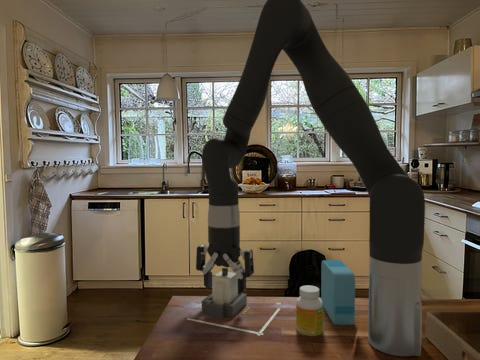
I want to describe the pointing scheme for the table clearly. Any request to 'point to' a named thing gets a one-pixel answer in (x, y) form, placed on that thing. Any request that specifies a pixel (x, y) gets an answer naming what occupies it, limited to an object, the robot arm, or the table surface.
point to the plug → (224, 287)
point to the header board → (241, 329)
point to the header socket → (224, 307)
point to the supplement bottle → (309, 311)
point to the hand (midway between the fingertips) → (224, 290)
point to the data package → (338, 292)
